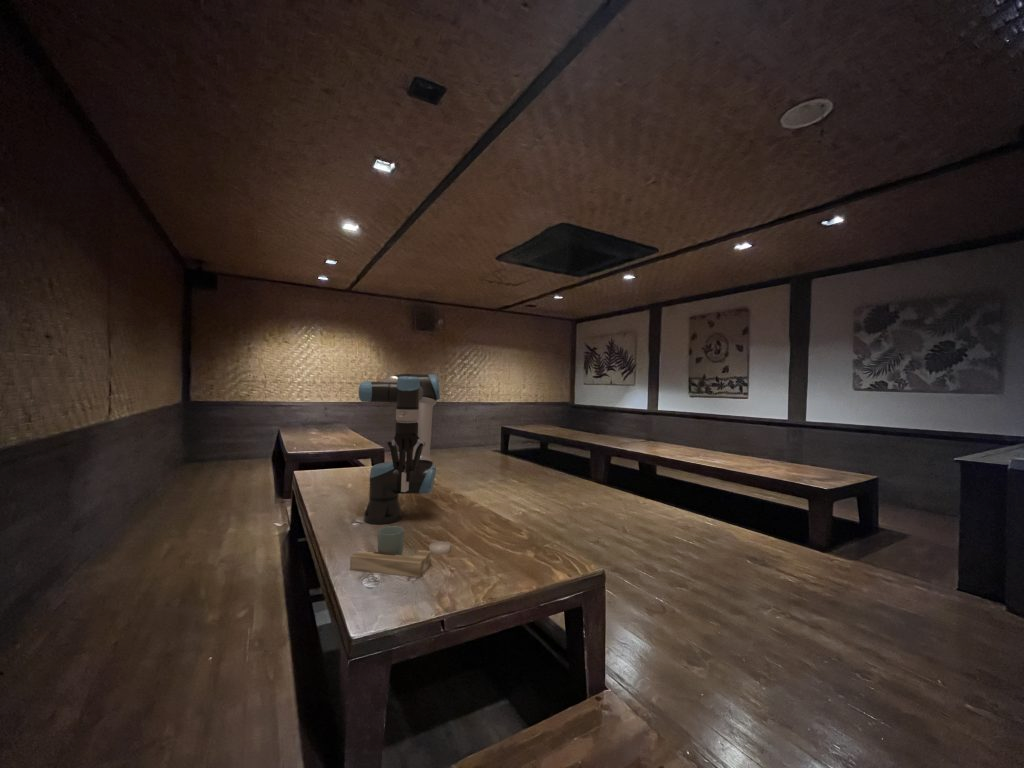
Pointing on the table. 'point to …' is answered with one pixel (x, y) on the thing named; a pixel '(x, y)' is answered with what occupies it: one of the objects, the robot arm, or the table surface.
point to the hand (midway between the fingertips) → (404, 490)
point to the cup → (391, 540)
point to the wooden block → (391, 563)
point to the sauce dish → (439, 547)
